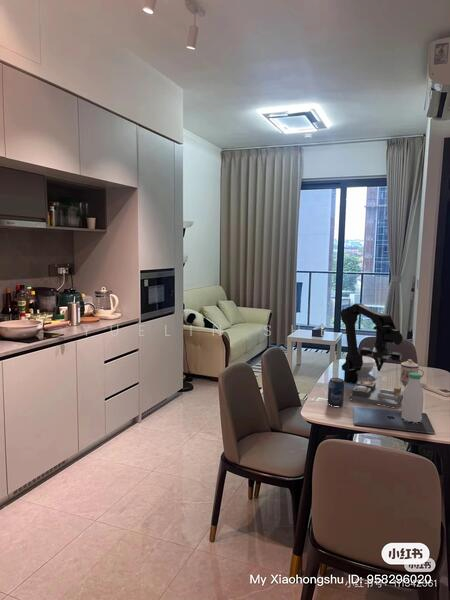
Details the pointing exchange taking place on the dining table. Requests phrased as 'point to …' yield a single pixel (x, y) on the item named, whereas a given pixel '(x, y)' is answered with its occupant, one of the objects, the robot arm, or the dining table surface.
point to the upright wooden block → (397, 391)
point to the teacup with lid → (408, 370)
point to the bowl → (366, 366)
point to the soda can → (336, 392)
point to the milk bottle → (413, 399)
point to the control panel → (375, 395)
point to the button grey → (362, 388)
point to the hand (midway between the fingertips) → (378, 370)
